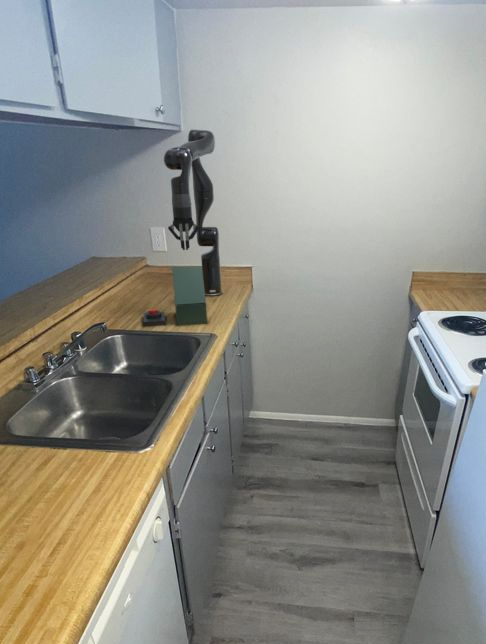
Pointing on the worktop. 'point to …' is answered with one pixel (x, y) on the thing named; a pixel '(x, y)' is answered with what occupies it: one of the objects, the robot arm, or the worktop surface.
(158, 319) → the button block
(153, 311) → the button
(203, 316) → the chest
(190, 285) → the lid
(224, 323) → the worktop surface
